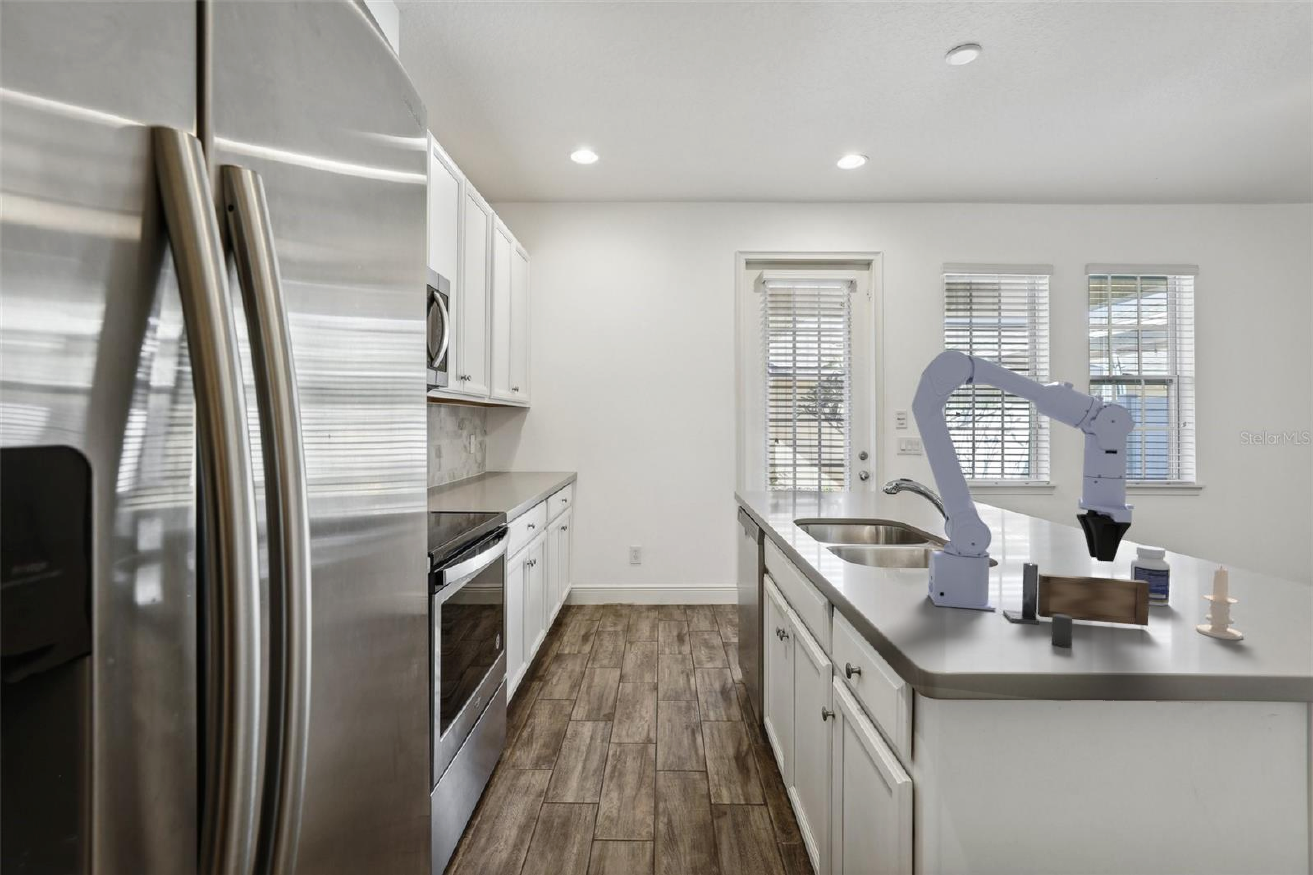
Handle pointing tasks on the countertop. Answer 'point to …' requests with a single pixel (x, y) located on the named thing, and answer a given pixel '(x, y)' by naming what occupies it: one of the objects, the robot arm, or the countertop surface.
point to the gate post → (1027, 597)
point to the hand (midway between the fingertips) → (1101, 559)
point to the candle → (1220, 610)
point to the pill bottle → (1152, 573)
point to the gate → (1094, 598)
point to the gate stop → (1062, 630)
